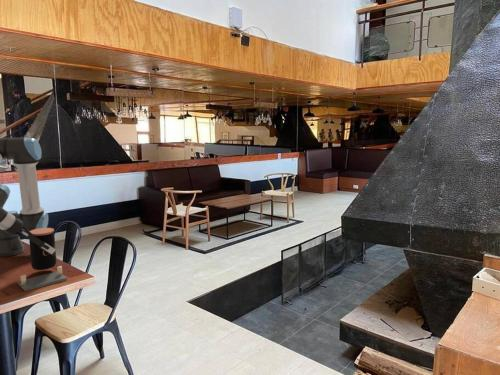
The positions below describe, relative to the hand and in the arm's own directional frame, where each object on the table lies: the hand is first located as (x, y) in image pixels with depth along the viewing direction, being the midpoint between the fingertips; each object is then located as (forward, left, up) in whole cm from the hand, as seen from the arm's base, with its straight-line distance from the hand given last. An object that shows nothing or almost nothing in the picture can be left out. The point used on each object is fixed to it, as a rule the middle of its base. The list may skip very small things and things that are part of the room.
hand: (49, 249), depth 178 cm
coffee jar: (+1, -2, -8) cm, 9 cm away
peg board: (+14, +1, -11) cm, 18 cm away
